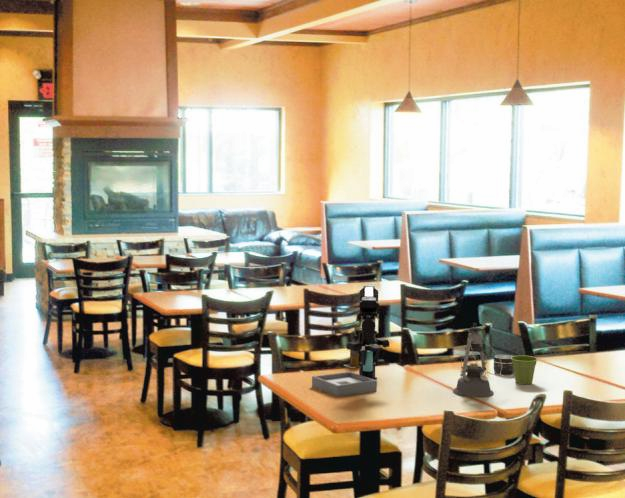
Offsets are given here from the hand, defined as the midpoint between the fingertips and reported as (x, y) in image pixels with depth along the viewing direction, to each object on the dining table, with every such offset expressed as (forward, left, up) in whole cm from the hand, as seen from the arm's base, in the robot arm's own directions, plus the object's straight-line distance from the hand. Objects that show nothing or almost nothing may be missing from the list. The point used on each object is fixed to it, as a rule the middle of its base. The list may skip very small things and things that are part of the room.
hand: (367, 364), depth 412 cm
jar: (-78, 0, -12) cm, 79 cm away
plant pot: (-71, +20, -12) cm, 75 cm away
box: (+5, -10, -12) cm, 17 cm away
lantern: (-40, +24, -12) cm, 48 cm away
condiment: (-25, -46, -12) cm, 54 cm away
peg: (0, 0, -2) cm, 2 cm away
